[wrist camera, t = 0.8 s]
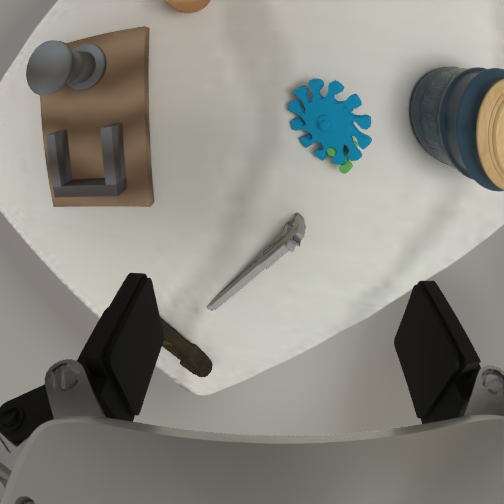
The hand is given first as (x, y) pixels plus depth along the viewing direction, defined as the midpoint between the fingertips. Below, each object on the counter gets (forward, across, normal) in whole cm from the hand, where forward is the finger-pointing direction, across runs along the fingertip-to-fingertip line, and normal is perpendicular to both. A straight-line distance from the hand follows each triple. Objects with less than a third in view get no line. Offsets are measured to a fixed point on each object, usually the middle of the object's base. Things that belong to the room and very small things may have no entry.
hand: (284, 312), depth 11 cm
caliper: (+30, +3, +17) cm, 34 cm away
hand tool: (+29, +16, +31) cm, 45 cm away
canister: (+30, -23, -6) cm, 38 cm away
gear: (+30, -6, -3) cm, 31 cm away
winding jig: (+30, +23, -4) cm, 38 cm away
